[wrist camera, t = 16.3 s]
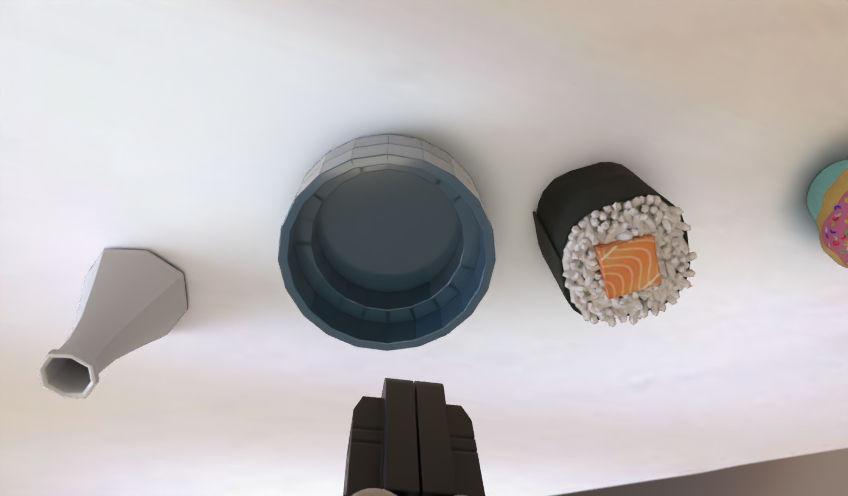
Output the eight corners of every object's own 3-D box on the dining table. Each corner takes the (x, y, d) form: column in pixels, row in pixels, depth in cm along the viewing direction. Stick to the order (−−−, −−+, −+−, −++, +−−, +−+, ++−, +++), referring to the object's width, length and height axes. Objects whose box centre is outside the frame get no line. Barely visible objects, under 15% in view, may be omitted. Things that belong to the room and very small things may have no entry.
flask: (200, 265, 41) (144, 345, 32) (178, 345, 44) (120, 440, 35) (95, 231, 40) (5, 305, 31) (78, 316, 42) (-9, 407, 33)
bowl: (303, 116, 37) (288, 137, 32) (502, 150, 39) (517, 175, 34) (285, 294, 42) (270, 335, 37) (461, 318, 44) (469, 361, 39)
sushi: (548, 285, 43) (579, 346, 36) (523, 183, 40) (551, 228, 32) (655, 254, 42) (709, 310, 35) (639, 147, 39) (695, 185, 32)
